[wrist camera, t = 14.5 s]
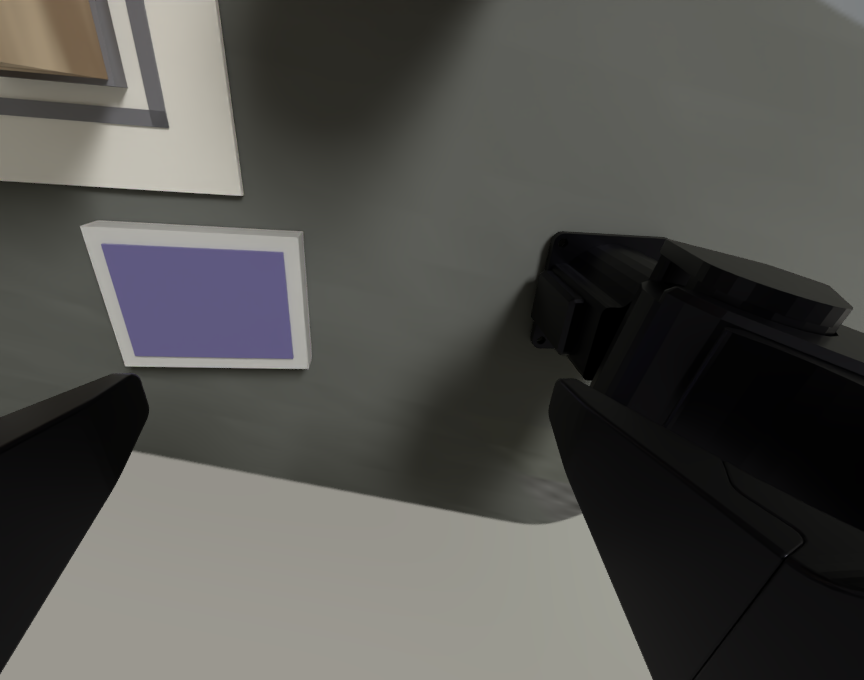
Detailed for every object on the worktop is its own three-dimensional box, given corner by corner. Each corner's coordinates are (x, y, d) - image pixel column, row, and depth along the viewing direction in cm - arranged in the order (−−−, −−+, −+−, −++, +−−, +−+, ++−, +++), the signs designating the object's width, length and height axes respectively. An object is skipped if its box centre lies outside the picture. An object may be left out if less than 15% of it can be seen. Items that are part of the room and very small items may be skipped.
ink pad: (303, 231, 19) (297, 238, 18) (312, 357, 22) (307, 370, 21) (97, 220, 18) (77, 227, 17) (138, 354, 21) (123, 367, 20)
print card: (190, -205, 13) (185, -214, 12) (243, 194, 18) (241, 196, 18) (-266, -284, 11) (-285, -296, 11) (-57, 175, 17) (-66, 177, 16)
